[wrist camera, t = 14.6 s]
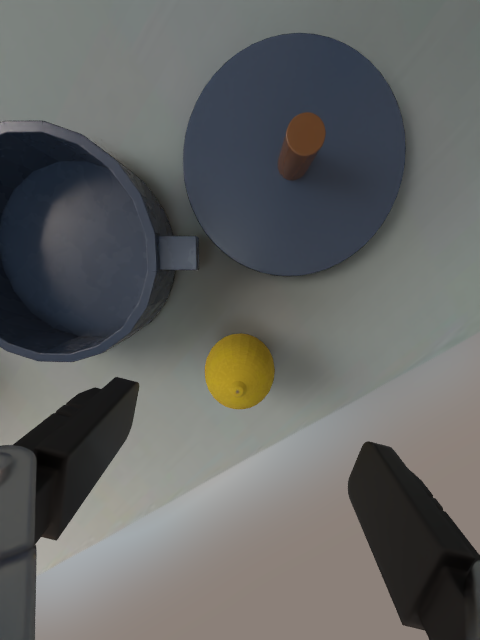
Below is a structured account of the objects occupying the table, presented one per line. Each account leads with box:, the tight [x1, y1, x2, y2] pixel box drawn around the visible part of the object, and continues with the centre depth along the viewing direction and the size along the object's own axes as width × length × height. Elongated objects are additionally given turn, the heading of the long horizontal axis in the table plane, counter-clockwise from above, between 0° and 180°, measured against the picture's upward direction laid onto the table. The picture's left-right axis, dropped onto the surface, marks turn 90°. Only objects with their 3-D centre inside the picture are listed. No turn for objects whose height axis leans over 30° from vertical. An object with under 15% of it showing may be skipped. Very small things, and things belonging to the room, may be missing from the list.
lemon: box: [205, 333, 275, 409], centre depth 22 cm, size 6×6×8 cm
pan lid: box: [183, 33, 406, 276], centre depth 19 cm, size 17×17×6 cm
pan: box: [0, 121, 199, 362], centre depth 22 cm, size 16×22×5 cm
